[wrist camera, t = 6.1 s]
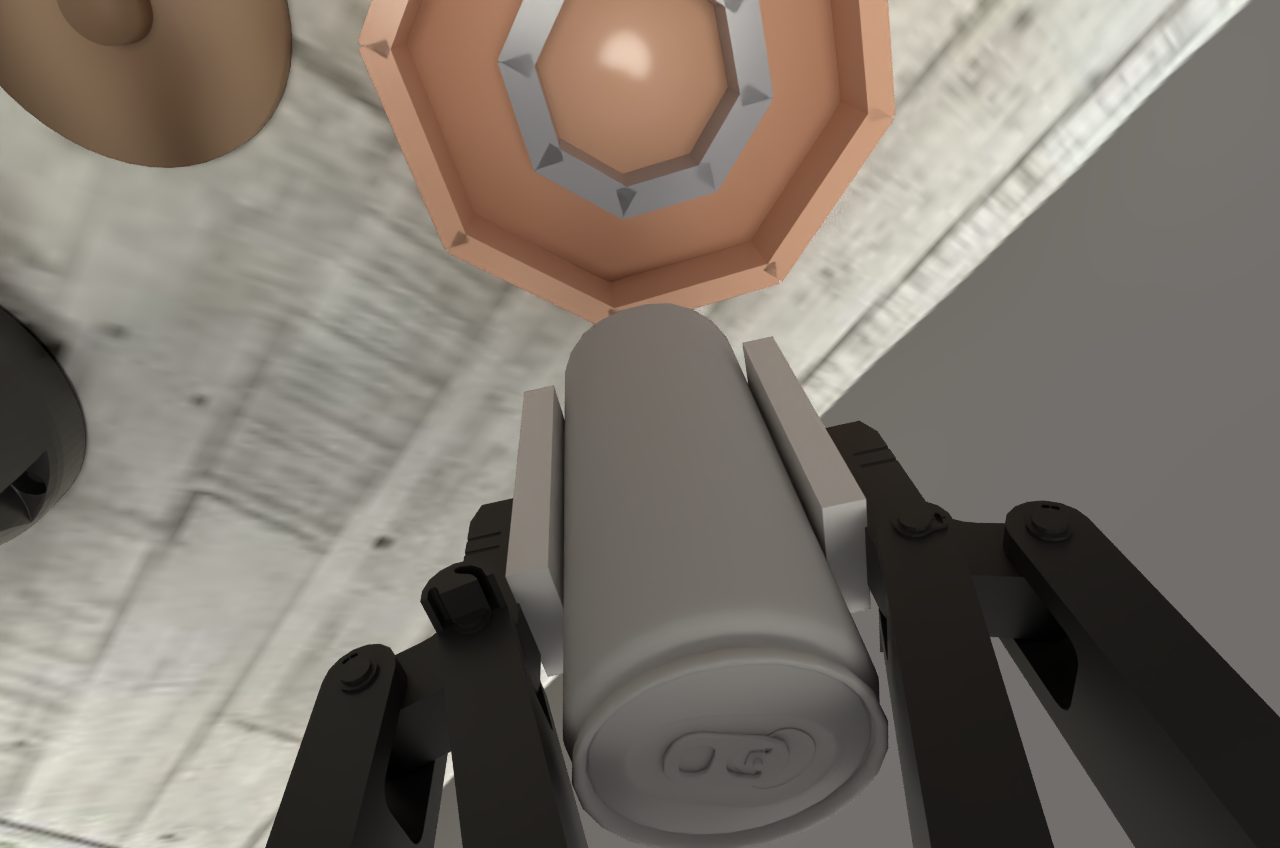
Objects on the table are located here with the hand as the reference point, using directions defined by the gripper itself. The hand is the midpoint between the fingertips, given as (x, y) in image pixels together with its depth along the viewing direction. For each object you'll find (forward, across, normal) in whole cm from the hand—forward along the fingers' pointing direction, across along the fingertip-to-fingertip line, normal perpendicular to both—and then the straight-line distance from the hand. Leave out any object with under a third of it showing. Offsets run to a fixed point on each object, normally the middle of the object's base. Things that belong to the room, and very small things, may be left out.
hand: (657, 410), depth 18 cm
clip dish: (+16, +2, +6) cm, 17 cm away
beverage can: (+2, 0, 0) cm, 2 cm away
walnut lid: (+16, -16, +12) cm, 25 cm away
